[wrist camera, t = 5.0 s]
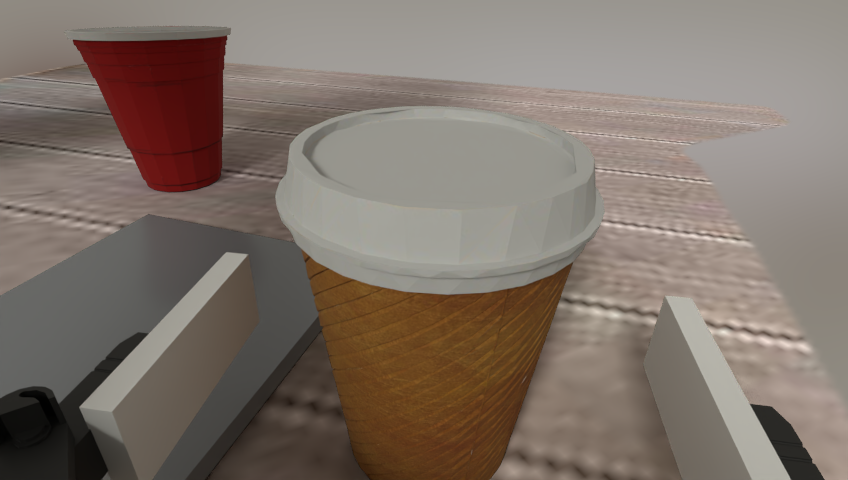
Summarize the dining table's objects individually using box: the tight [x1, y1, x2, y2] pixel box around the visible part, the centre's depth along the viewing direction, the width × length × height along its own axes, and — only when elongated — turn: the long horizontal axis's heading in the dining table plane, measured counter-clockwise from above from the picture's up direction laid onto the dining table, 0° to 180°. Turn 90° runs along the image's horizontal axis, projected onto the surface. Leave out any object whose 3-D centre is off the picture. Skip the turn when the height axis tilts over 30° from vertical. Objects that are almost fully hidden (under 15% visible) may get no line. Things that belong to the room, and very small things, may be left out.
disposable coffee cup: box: [275, 106, 605, 480], centre depth 17 cm, size 10×10×12 cm
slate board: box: [0, 214, 323, 480], centre depth 26 cm, size 16×16×1 cm
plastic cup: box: [64, 26, 231, 192], centre depth 39 cm, size 11×11×12 cm
